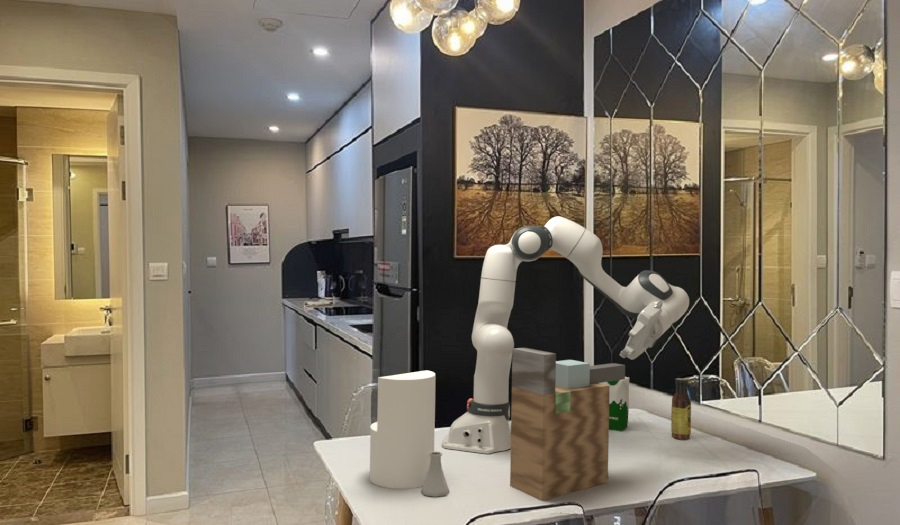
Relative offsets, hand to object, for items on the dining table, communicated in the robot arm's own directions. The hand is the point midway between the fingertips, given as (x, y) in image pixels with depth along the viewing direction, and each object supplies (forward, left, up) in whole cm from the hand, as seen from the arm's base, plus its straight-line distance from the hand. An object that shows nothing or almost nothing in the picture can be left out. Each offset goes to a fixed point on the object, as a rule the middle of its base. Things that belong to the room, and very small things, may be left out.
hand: (626, 345), depth 188 cm
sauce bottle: (+22, +35, -35) cm, 54 cm away
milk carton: (+1, +43, -35) cm, 56 cm away
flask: (-49, -33, -35) cm, 69 cm away
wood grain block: (-18, -20, -35) cm, 44 cm away
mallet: (-11, -12, -9) cm, 18 cm away
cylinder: (-60, -24, -35) cm, 74 cm away
